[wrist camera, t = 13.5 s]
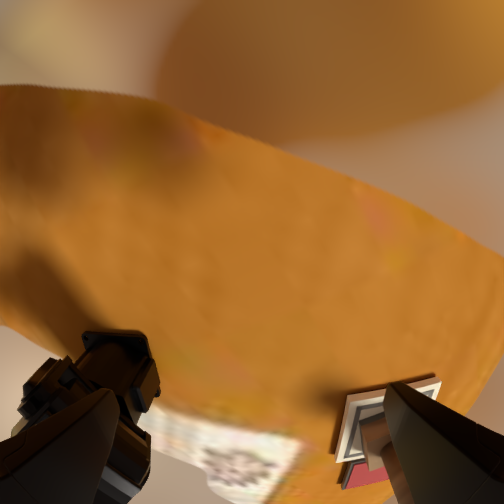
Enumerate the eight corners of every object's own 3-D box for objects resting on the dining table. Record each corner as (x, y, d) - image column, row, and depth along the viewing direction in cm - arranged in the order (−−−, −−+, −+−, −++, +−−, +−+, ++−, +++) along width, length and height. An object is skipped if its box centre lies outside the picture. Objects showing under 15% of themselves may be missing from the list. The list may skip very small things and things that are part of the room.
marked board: (334, 456, 26) (336, 463, 25) (347, 395, 23) (350, 402, 22) (412, 438, 26) (416, 444, 24) (437, 376, 23) (442, 382, 22)
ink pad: (340, 485, 28) (342, 490, 27) (349, 458, 26) (351, 464, 25) (395, 472, 27) (397, 477, 26) (410, 443, 26) (413, 449, 25)
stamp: (362, 451, 24) (388, 531, 14) (358, 420, 23) (391, 512, 12) (412, 431, 24) (449, 503, 13) (415, 398, 23) (463, 478, 12)
